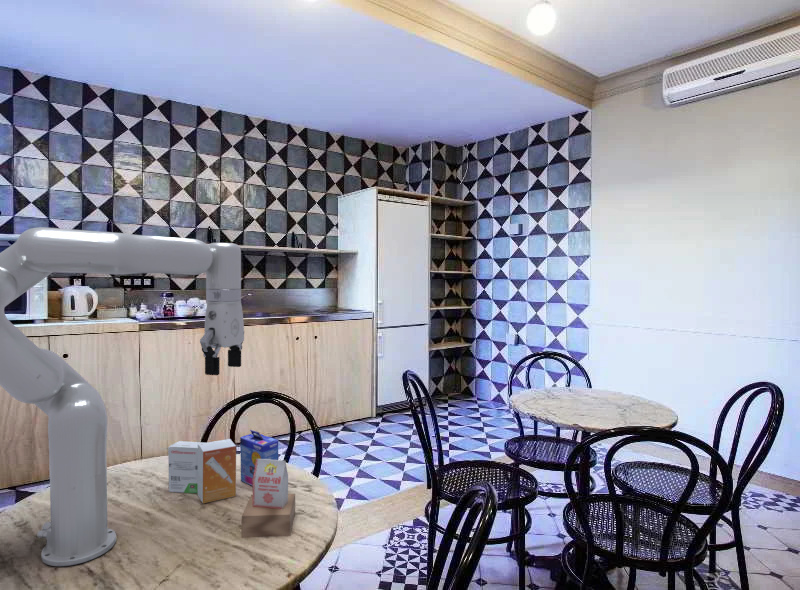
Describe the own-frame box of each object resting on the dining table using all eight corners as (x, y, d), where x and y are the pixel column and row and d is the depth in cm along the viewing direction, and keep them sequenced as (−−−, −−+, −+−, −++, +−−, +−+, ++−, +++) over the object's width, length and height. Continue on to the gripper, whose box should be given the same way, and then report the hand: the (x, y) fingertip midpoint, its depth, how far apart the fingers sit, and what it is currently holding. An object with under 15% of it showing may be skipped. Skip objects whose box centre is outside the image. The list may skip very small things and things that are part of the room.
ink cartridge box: (238, 481, 131) (238, 428, 130) (255, 474, 135) (256, 423, 134) (262, 491, 125) (262, 436, 124) (279, 484, 129) (279, 430, 129)
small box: (202, 504, 118) (202, 451, 117) (197, 494, 123) (196, 443, 122) (236, 496, 122) (236, 445, 121) (230, 487, 127) (230, 438, 127)
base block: (241, 539, 103) (241, 516, 103) (251, 515, 113) (251, 494, 113) (289, 537, 104) (289, 514, 104) (295, 514, 114) (295, 493, 114)
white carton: (259, 498, 111) (259, 455, 110) (287, 501, 110) (288, 457, 110) (252, 506, 107) (252, 461, 107) (281, 509, 106) (282, 464, 106)
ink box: (209, 485, 128) (209, 441, 127) (199, 494, 123) (199, 448, 122) (178, 483, 129) (178, 439, 128) (167, 492, 124) (167, 446, 123)
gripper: (218, 299, 103) (218, 379, 104) (256, 295, 120) (256, 364, 121) (186, 298, 104) (186, 377, 105) (228, 294, 121) (228, 363, 122)
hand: (223, 370), depth 113 cm, fingers open, 9 cm apart
